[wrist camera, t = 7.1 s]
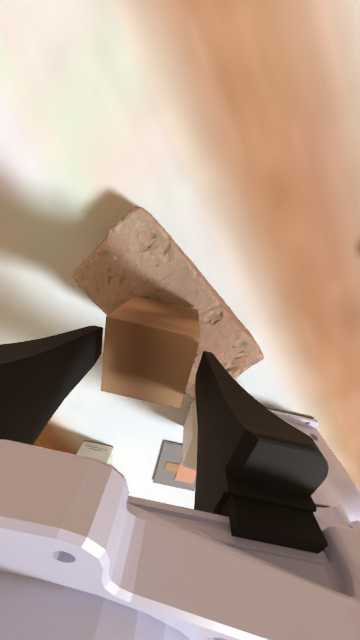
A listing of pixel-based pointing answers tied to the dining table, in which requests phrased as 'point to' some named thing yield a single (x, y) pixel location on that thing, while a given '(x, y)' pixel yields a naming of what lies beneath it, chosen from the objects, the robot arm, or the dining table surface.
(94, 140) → the dining table surface
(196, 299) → the brick
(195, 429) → the cream cube
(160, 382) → the walnut block
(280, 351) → the dining table surface
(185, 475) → the card
